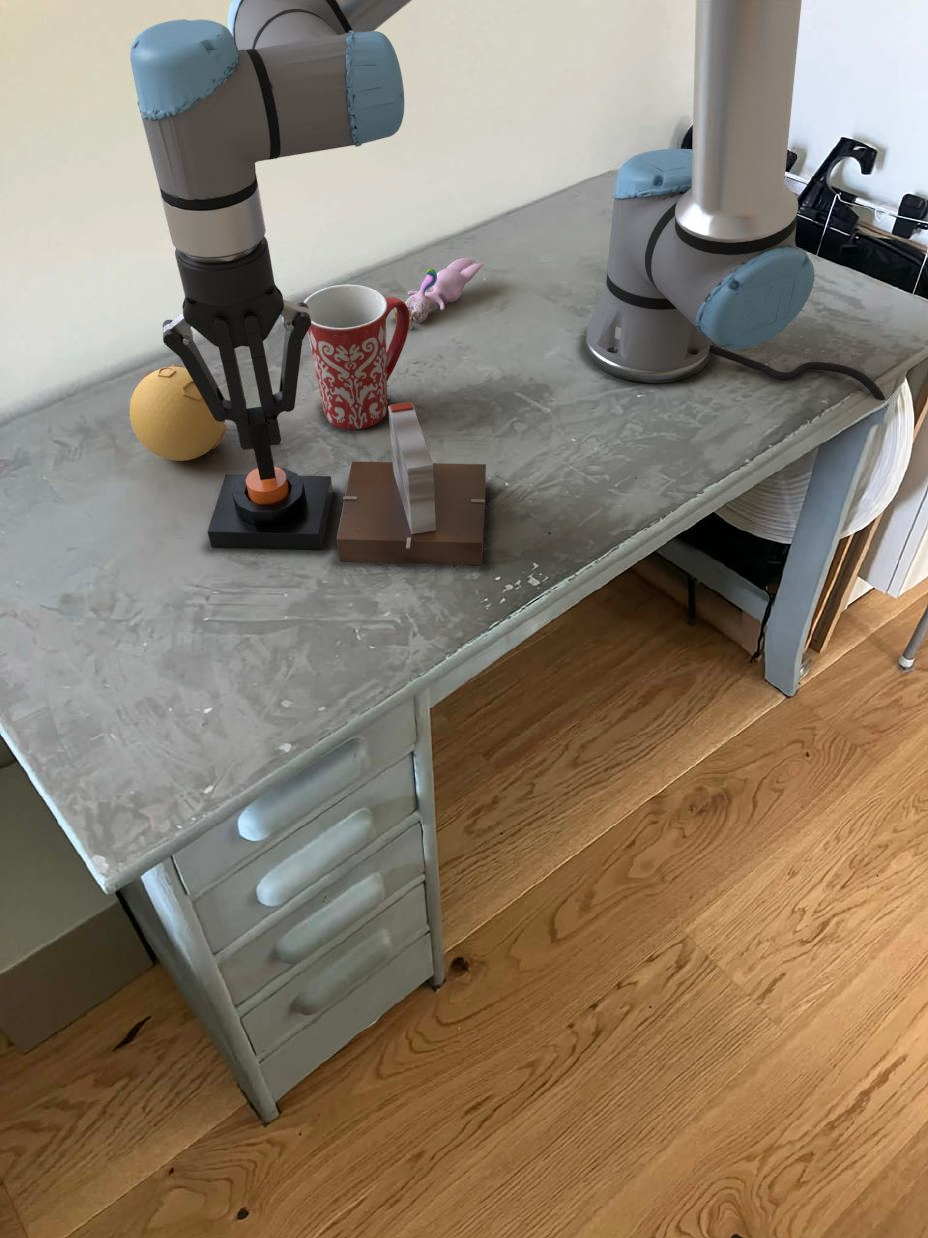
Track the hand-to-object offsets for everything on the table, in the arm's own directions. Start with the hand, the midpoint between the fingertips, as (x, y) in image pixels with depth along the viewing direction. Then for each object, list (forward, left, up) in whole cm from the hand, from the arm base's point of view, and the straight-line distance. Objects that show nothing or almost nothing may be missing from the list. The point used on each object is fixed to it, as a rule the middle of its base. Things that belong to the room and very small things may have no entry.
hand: (266, 470), depth 100 cm
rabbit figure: (-14, -43, -7) cm, 46 cm away
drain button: (0, 0, -3) cm, 3 cm away
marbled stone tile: (-14, 0, -3) cm, 15 cm away
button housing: (0, 0, -6) cm, 6 cm away
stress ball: (+12, -11, -7) cm, 17 cm away
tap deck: (-14, 0, -6) cm, 16 cm away
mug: (-7, -20, -7) cm, 22 cm away
